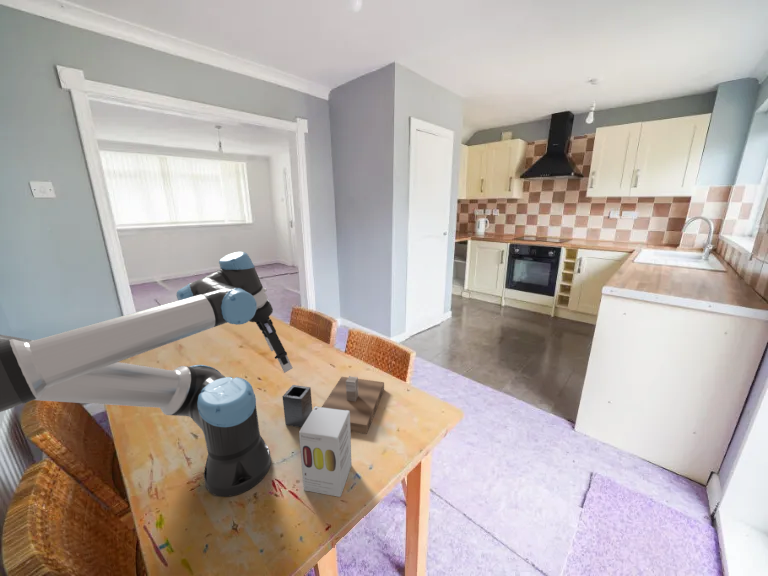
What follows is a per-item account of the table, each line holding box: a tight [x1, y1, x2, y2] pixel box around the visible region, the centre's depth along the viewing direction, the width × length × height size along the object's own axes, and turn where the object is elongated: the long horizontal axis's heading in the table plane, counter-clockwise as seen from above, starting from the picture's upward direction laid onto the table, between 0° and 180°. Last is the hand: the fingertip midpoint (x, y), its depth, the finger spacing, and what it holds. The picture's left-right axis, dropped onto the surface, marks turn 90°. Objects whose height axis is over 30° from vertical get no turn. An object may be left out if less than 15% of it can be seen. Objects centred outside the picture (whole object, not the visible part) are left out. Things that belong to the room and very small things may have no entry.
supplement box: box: [298, 405, 353, 498], centre depth 73 cm, size 10×9×17 cm
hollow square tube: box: [281, 384, 313, 429], centre depth 94 cm, size 6×6×10 cm
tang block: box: [321, 375, 385, 435], centre depth 100 cm, size 22×16×10 cm
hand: (281, 358), depth 98 cm, fingers open, 13 cm apart
